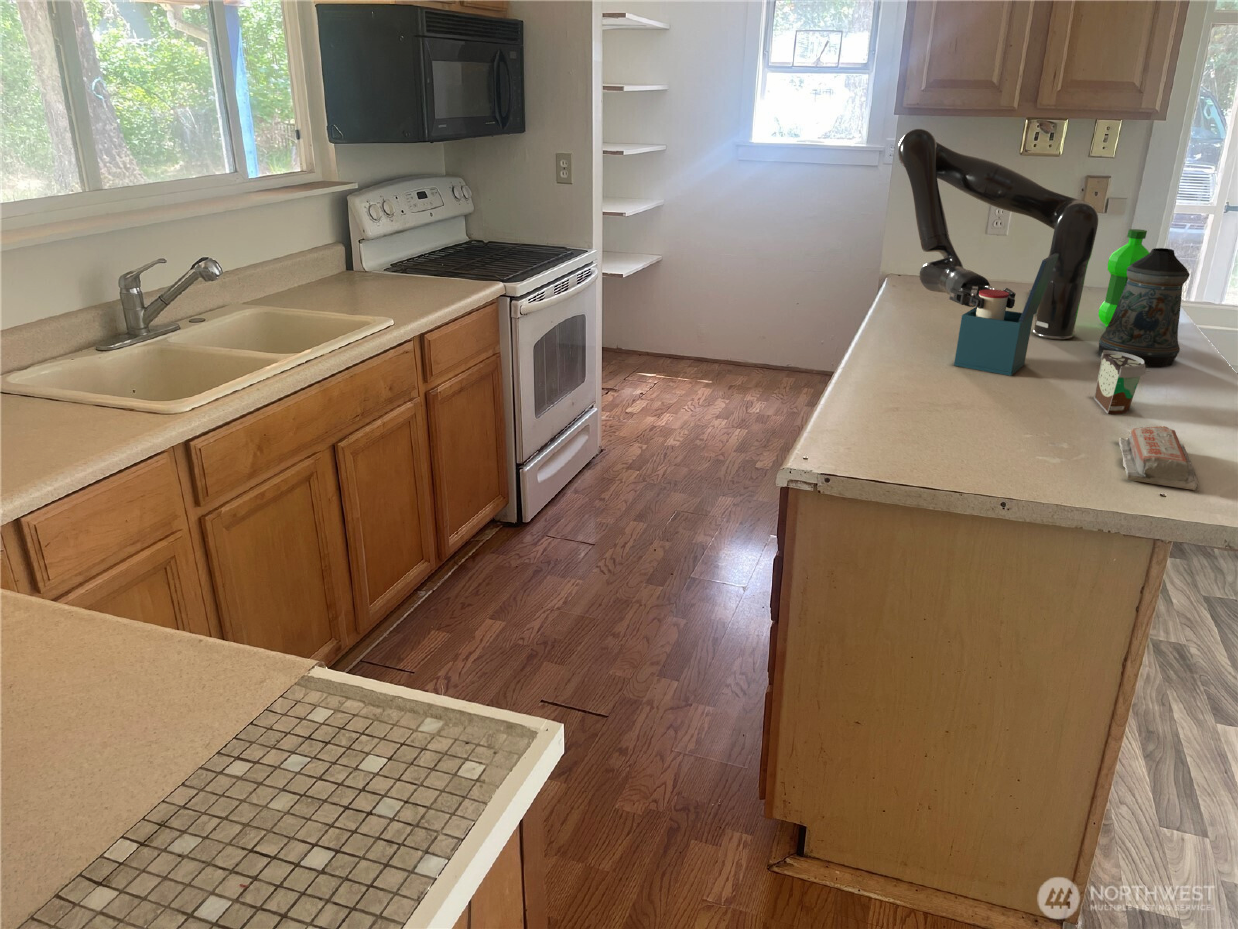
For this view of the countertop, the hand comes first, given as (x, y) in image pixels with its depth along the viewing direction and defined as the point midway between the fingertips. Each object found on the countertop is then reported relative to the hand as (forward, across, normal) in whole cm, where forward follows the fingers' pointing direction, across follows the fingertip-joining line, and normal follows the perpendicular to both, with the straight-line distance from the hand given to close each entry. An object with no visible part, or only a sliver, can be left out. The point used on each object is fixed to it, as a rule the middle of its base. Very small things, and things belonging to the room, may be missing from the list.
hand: (997, 303), depth 193 cm
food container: (+28, +15, +14) cm, 35 cm away
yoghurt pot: (-2, 0, +8) cm, 8 cm away
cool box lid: (+3, +7, -4) cm, 9 cm away
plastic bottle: (-34, +50, +15) cm, 62 cm away
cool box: (-1, +1, +15) cm, 15 cm away
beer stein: (-7, +39, +15) cm, 42 cm away
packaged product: (+57, +5, +14) cm, 59 cm away
